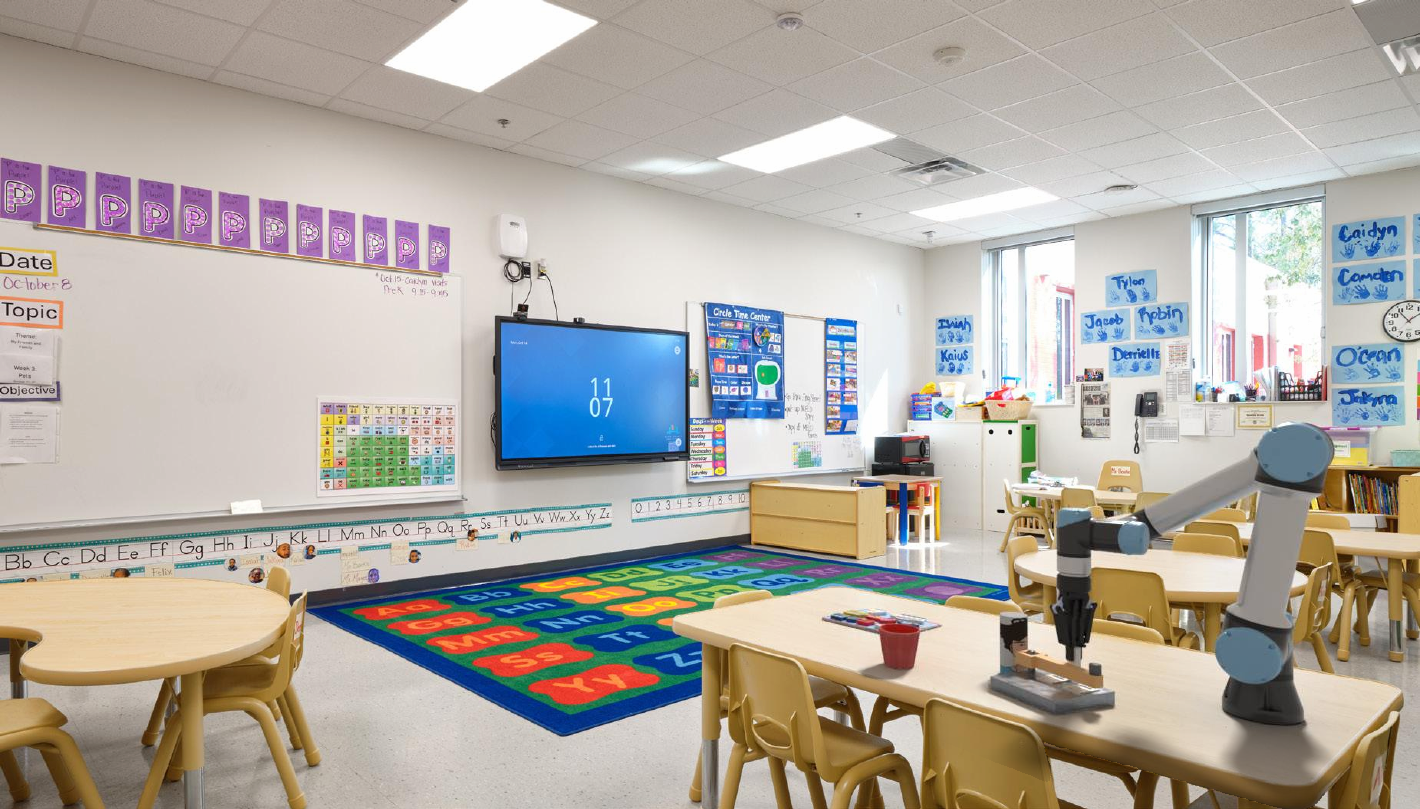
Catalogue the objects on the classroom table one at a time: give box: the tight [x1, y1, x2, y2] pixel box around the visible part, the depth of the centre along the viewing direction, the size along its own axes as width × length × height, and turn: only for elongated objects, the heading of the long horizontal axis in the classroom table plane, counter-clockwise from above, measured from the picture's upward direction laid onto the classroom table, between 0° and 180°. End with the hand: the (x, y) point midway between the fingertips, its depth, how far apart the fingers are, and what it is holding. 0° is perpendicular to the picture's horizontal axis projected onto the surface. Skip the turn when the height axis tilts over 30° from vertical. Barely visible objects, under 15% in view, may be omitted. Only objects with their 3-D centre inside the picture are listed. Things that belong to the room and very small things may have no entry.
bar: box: [1015, 648, 1104, 689], centre depth 197 cm, size 23×5×5 cm, turn 24°
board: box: [989, 649, 1116, 716], centre depth 196 cm, size 20×18×8 cm
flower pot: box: [878, 624, 921, 670], centre depth 221 cm, size 11×11×10 cm
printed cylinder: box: [999, 611, 1029, 675], centre depth 213 cm, size 7×7×15 cm
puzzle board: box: [821, 608, 943, 634], centre depth 268 cm, size 30×23×3 cm
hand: (1073, 674), depth 198 cm, fingers closed
